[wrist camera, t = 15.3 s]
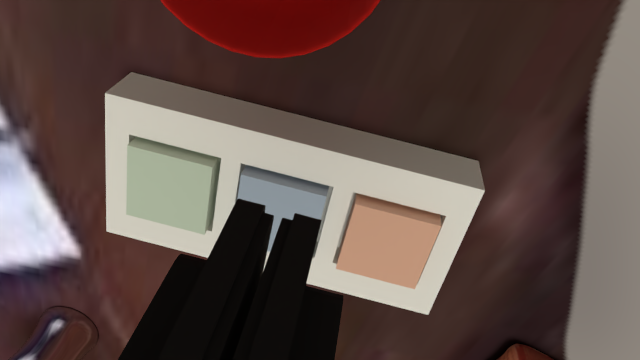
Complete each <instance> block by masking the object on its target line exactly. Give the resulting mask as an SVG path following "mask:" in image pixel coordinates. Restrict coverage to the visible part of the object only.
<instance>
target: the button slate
mask: <svg viewBox="0 0 640 360" xmlns="http://www.w3.org/2000/svg"><path fill="white" fill-rule="evenodd" d="M328 189H329V186H328V185H324V184H320V183H316V182H312V181H308V180H304V179H300V178H296V177H293V176H289V175H285V174H281V173H277V172H273V171H269V170H265V169H261V168H258V167H254V166H250V165H246V166H245V168H244V170H243V172H242V174H241V178H240V184H239V191H238V198H237V199H242V200H246V201H250V202H254V203H258V204H262V205H265V206H266V207H265V213H267V214H271V215H274V220H273V225H272V230H271V235H270V240H269V245H268V250H267V251H269V252H270V251H271V248H272V245H273V242H274V240H275V237H276V234H277V231H278V228H279V225H280V222H281V220H282V218H286V219H290V220H293V217H294V214H295V213H297V214H301V215H304V216H308V217H312V218H316V219H320V220H321V216H322V212H323V209H324V205H325V201H326V197H327V193H328Z"/></svg>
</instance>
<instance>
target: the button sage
mask: <svg viewBox="0 0 640 360" xmlns="http://www.w3.org/2000/svg"><path fill="white" fill-rule="evenodd" d="M220 164H221V158H219V157H215V156H211V155H207V154H203V153H199V152H195V151H192V150H188V149H184V148H180V147H176V146H172V145H168V144H164V143H160V142H157V141H153V140H149V139H145V138H141V137H137V136H136V137H135V138H134V139H133V140H132V141H131V142H130V143H129V144H128V145H127V200H126V215H130V216H134V217H138V218H142V219H145V220H149V221H153V222H157V223H161V224H165V225H169V226H172V227H176V228H180V229H184V230H188V231H192V232H196V233H199V234H203V235H205V233H206V231H207V229H208V228H209V226H210V224H211V222H212V220H213V218H214V212H215V204H216V196H217V188H218V180H219V172H220Z"/></svg>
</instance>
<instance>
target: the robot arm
mask: <svg viewBox="0 0 640 360" xmlns="http://www.w3.org/2000/svg"><path fill="white" fill-rule="evenodd" d="M265 207H266V206H265V205H262V204H258V203H254V202H250V201H246V200H242V199H237V201H236V203H235V205H234V207H233V209H232V211H231V213H230V215H229V217H228V219H227V221H226V223H225V225H224V227H223V229H222V231H221V233H220V235H219V237H218V239H217V241H216V243H215V245H214V247H213V249H212V251H211V253H210V255H209V257H208V259H207V260H204V259H200V258H196V257H192V256H188V255H185V254H180V255H179V256H178V257H177V259H176V260H175V261H174V263H173V265H172V267H171V268H170V270H169V272H168V274H167V275H166V277H165V279H164V281H163V282H162V284H161V286H160V288H159V289H158V291H157V293H156V294H155V296H154V298H153V300H152V301H151V303H150V305H149V307H148V308H147V310H146V312H145V314H144V315H143V317H142V319H141V321H140V322H139V324H138V326H137V328H136V329H135V331H134V333H133V334H132V336H131V338H130V340H129V341H128V343H127V345H126V347H125V348H124V350H123V352H122V354H121V355H120V357H119V359H118V360H334V358H335V352H336V345H337V338H338V332H339V325H340V318H341V312H342V305H343V295H339V294H335V293H331V292H327V291H323V290H319V289H316V288H312V287H308V286H306V283H307V278H308V274H309V270H310V266H311V262H312V258H313V254H314V249H315V245H316V241H317V237H318V233H319V229H320V225H321V220H320V219H316V218H312V217H308V216H304V215H301V214H297V213H295V214H294V217H293V220H290V219H286V218H282V220H281V222H280V225H279V228H278V231H277V234H276V237H275V240H274V242H273V245H272V248H271V251H270V254H269V257H268V260H267V262H266V265H265V260H266V255H267V250H268V245H269V240H270V235H271V230H272V225H273V220H274V215H271V214H267V213H265ZM264 265H265V268H264ZM263 269H264V271H263Z"/></svg>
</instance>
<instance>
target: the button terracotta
mask: <svg viewBox="0 0 640 360" xmlns="http://www.w3.org/2000/svg"><path fill="white" fill-rule="evenodd" d="M440 228H441V216H440V214H436V213H432V212H429V211H425V210H421V209H417V208H413V207H409V206H405V205H401V204H397V203H394V202H390V201H386V200H382V199H378V198H374V197H370V196H366V195H363V194H359V193H356V194H355V197H354V201H353V204H352V208H351V211H350V214H349V218H348V221H347V224H346V228H345V231H344V234H343V238H342V241H341V244H340V248H339V253H338V259H337V264H336V269H338V270H342V271H346V272H350V273H354V274H358V275H362V276H365V277H369V278H373V279H377V280H381V281H385V282H389V283H392V284H396V285H400V286H404V287H408V288H412V289H415V287H416V285H417V283H418V280H419V278H420V276H421V273H422V271H423V268H424V266H425V264H426V261H427V259H428V257H429V254H430V252H431V250H432V247H433V245H434V242H435V240H436V238H437V235H438V233H439V231H440Z"/></svg>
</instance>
